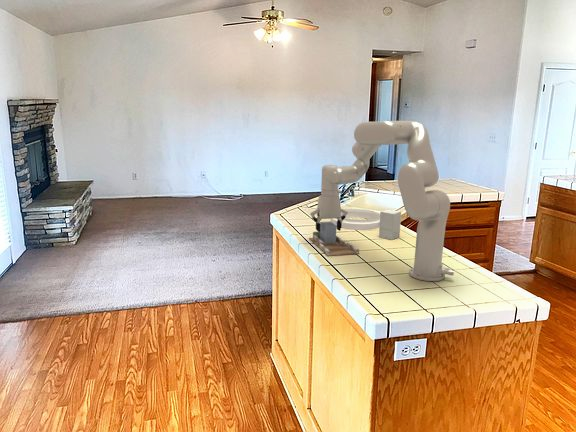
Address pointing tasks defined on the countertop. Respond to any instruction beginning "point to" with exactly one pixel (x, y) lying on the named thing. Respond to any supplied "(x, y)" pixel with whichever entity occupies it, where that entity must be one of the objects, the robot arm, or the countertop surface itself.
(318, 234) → the track
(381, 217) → the supplement box
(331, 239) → the slider block
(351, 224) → the plate
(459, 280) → the countertop surface
